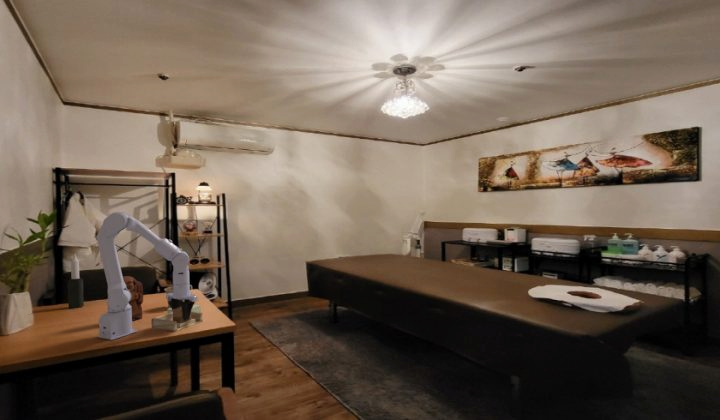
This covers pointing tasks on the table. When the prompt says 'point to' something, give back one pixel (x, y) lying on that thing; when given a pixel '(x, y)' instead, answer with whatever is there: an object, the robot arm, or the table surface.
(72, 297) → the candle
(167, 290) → the flower pot
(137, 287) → the wooden figurine
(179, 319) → the walnut block
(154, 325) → the birch box
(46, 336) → the table surface
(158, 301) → the table surface
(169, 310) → the sage stand
